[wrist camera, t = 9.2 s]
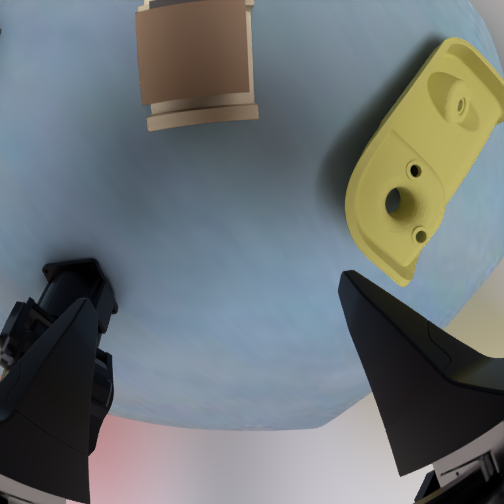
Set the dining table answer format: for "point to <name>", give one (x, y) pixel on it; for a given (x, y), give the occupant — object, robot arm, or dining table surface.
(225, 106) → the rail
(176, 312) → the dining table surface
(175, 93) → the walnut finger
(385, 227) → the plastic component
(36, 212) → the dining table surface
